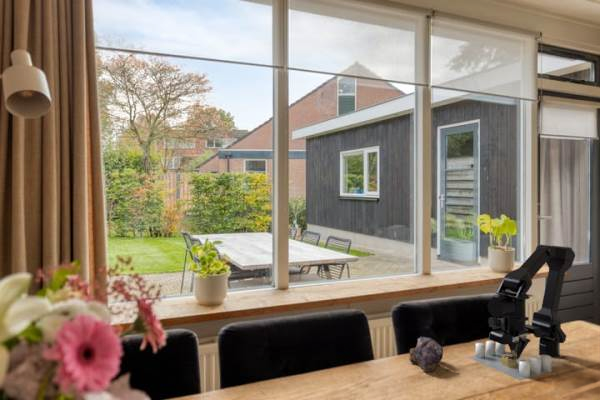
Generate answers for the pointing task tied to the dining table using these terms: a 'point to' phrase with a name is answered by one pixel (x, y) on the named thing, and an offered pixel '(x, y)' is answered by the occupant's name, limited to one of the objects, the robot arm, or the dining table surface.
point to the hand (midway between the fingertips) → (515, 359)
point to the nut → (509, 361)
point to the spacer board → (519, 372)
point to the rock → (426, 354)
